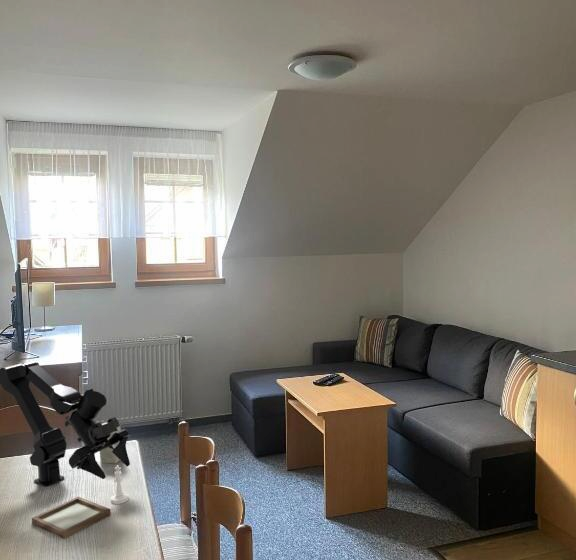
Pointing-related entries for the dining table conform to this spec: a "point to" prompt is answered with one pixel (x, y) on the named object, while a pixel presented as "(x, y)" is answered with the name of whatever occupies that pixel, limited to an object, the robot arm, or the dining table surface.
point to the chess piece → (119, 489)
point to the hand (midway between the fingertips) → (117, 471)
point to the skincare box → (109, 452)
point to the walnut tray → (71, 517)
